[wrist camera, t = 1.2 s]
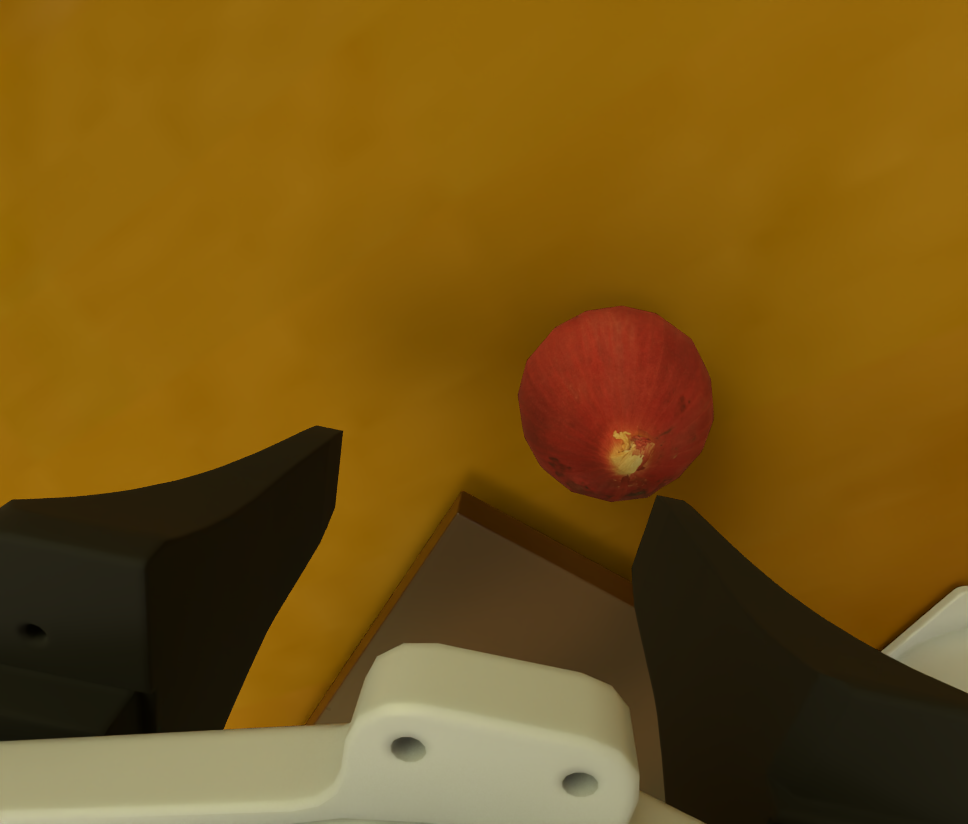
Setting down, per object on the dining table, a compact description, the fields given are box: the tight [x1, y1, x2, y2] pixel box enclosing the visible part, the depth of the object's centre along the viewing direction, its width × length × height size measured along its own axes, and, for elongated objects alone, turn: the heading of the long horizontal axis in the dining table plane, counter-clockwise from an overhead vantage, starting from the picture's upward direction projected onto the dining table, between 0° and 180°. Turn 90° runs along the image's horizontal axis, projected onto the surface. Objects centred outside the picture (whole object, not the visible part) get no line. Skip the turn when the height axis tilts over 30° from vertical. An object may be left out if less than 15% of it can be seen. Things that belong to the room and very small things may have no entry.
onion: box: [518, 306, 714, 502], centre depth 19 cm, size 6×6×8 cm
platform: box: [305, 491, 665, 803], centre depth 28 cm, size 15×20×3 cm
